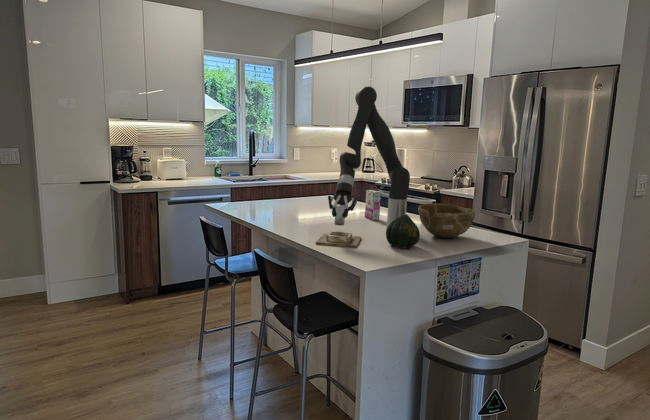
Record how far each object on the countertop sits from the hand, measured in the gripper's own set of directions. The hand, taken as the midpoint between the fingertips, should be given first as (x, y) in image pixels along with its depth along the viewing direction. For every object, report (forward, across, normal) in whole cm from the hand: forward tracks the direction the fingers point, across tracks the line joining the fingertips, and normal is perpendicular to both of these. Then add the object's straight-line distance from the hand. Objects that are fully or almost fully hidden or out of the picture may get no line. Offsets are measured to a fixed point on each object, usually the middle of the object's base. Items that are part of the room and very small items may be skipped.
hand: (339, 216), depth 200 cm
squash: (+6, +28, +10) cm, 31 cm away
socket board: (+7, 0, +10) cm, 12 cm away
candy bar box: (-36, +9, +53) cm, 65 cm away
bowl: (-12, +48, +29) cm, 58 cm away
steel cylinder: (+2, 0, +4) cm, 4 cm away
